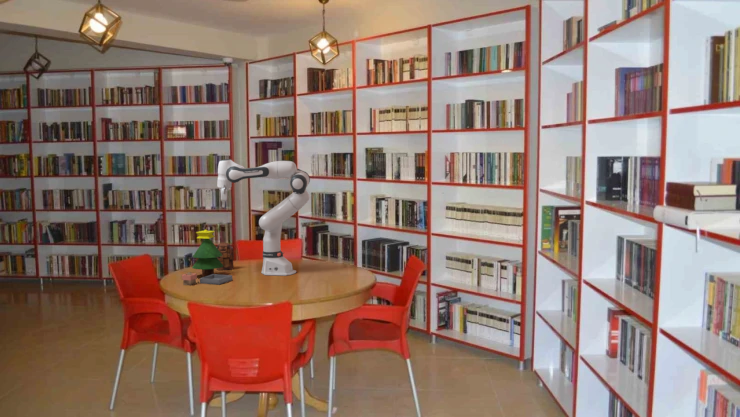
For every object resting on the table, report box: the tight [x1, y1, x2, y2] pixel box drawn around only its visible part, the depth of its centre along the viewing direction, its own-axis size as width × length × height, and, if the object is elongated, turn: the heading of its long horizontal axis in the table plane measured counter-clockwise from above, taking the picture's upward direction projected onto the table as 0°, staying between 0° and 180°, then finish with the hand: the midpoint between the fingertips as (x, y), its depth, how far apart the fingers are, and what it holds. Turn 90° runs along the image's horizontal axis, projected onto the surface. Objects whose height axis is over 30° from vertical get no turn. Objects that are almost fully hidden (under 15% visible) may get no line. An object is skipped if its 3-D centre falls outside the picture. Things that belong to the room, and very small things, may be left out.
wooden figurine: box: [216, 242, 235, 271], centre depth 403 cm, size 12×6×18 cm, turn 100°
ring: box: [181, 272, 198, 281], centre depth 357 cm, size 6×6×3 cm
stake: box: [182, 271, 197, 286], centre depth 357 cm, size 5×5×7 cm
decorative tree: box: [191, 229, 223, 278], centre depth 380 cm, size 19×19×30 cm
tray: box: [199, 273, 233, 286], centre depth 364 cm, size 14×14×3 cm
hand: (223, 205), depth 386 cm, fingers open, 8 cm apart
